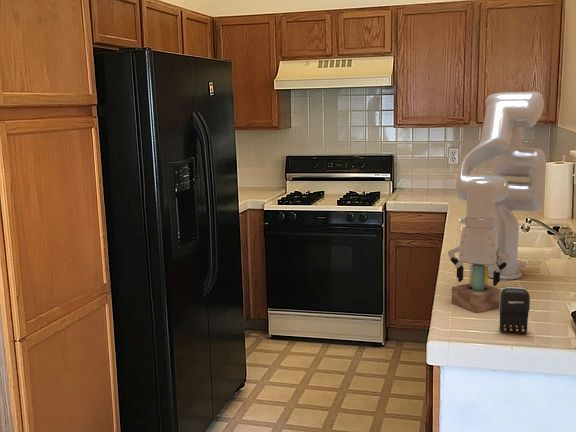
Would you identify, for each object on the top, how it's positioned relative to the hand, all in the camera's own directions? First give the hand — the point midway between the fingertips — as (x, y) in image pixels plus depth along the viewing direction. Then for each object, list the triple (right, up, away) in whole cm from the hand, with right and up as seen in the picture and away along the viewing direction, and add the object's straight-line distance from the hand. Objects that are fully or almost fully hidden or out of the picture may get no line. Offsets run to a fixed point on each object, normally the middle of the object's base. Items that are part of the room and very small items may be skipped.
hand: (477, 282), depth 179 cm
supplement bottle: (+6, -4, +18) cm, 20 cm away
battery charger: (+3, -11, -21) cm, 24 cm away
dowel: (0, -7, +1) cm, 7 cm away
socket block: (0, -7, +1) cm, 7 cm away
